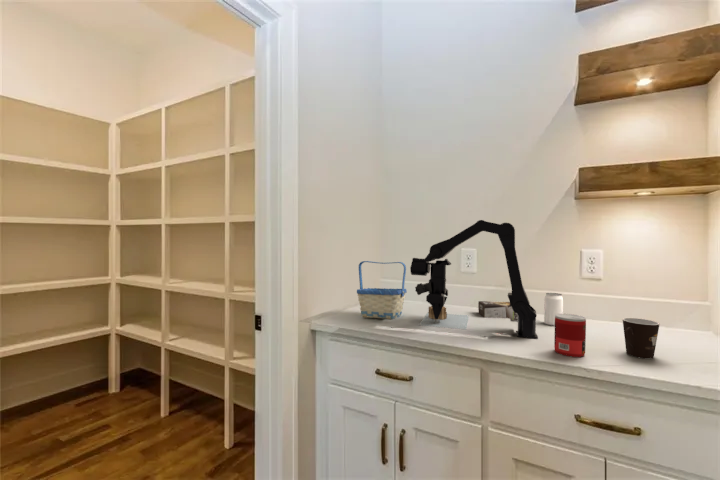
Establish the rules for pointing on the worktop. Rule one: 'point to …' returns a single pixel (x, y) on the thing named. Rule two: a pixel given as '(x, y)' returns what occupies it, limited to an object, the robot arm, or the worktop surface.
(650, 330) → the coffee mug
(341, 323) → the worktop surface
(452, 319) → the gear board
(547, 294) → the can
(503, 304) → the coffee box
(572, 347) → the canned food
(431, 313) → the oak gear
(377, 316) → the basket
